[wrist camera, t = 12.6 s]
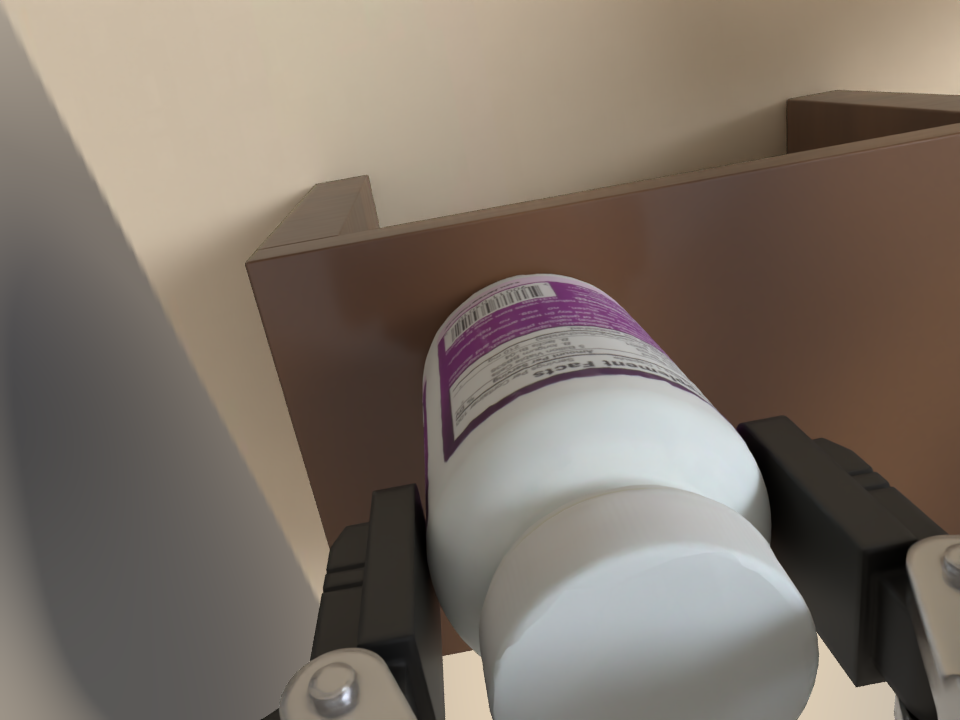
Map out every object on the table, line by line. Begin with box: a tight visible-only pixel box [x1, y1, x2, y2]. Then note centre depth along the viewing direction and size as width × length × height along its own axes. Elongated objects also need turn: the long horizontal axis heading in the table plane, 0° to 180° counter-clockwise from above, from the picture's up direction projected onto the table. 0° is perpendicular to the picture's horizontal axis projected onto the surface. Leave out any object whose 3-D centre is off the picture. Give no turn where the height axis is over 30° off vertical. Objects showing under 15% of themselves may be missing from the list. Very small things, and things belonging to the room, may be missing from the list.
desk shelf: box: [245, 90, 960, 656], centre depth 24 cm, size 20×12×12 cm, turn 99°
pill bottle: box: [422, 274, 819, 720], centre depth 13 cm, size 5×5×10 cm
